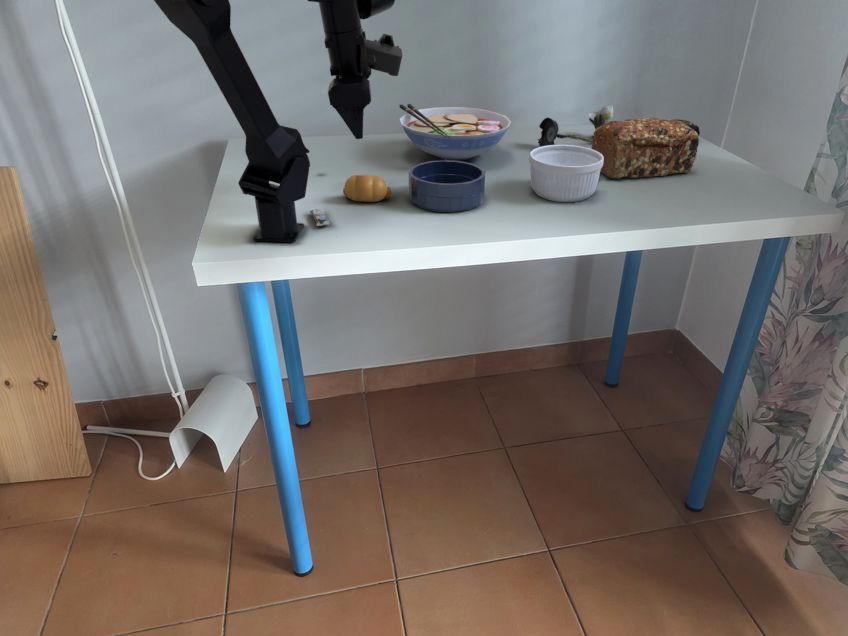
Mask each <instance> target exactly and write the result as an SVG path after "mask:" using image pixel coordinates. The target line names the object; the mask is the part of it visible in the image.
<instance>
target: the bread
mask: <svg viewBox="0 0 848 636" xmlns="http://www.w3.org/2000/svg"><path fill="white" fill-rule="evenodd" d="M591 141H592V143H591V148H590V149H593V150H595V151H597V152H599V153H601V154H602V155H603V157H604V162H603V166H602V168H601V171H600V173H602V174H603V175H605V176H606V177H608V178H609V179H616V180H617V179H618V180H620V179H621V178H623V177H625V178H626V177H627V178H632V179H633V178H634V179H637V178H650V177H665V176H667V175H673V174H678V173H679V174H687V173H689V172H690V171H691V170H692V169H693V166H694V163H695V161H696V160H697V153H698V148H699V143H700V138H699V136H698V134H697V132H696V131H694V129H692V128H690V127H689V126H688V125H686V124H684V123H683V122H681V121H678V120H673V119H668V118H658V117H657V118H656V117H642V118H639V117H638V118H634V119H631V118H630V119H629V118H628V119H625V120H610V121H608V122H606V123H605V124H603V125H602V126H600V127H598V128H597V129H596V130H594V131H593V138H592V140H591Z"/></svg>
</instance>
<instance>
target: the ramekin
mask: <svg viewBox="0 0 848 636" xmlns="http://www.w3.org/2000/svg"><path fill="white" fill-rule="evenodd" d="M528 162H529V164H530V182H531V183H530V184H531V188H532V190H533V192H534V193H535V194H536V195H537V196H539V197H540V198H541V199H545V200H549V201H552V202H557V203H559V202H560V203H575V202H581V201H584V200H587V199H589V198H591V196H592V195H593V194H594V193H595V191H596V190H597V186H598V184H599V183H598V182H599V179H600V174H601V172H600V171H601V168H602V166H603V162H604V157H603V155H602V154H601V153H599V152H597V151H595V150H593V149H592V148H590V147H585V146H581V145H573V144H555V145H548V146H542V147H540V146H539V147H535V148H534V149H532V150H531V151H530V153H529V157H528Z"/></svg>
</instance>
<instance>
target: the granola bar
mask: <svg viewBox="0 0 848 636" xmlns="http://www.w3.org/2000/svg"><path fill="white" fill-rule="evenodd" d="M309 213H311V215H312V217H313V218H314V220H315V223H316V226H318V227H326V226H329V225H330V224H331V222H330V221H329V218H328V217H327V216H326V213H325V212H324V209H323V208H315V209H311V210H309Z"/></svg>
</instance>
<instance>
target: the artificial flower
mask: <svg viewBox="0 0 848 636" xmlns="http://www.w3.org/2000/svg"><path fill="white" fill-rule="evenodd" d="M587 115H588V117H589V118H588V120H589V122H590V123H591V124H592V125H593V127H594V129H595V130H596V129H597V128H598V127H600V126H602V125H603V124H605V123H608V122H610V121H612V119H613V117H614V107H613V104H609V105H607V106H604V107H602V108H601V109H598V110H597V111H592V112H591V113H587ZM538 127H539V129H541V133H540V135H541V136H540V138H537V141H538V142H537V144H538V146H539V147H542V146H548V145H556V144H555V140H556V139H557V138H558V139H566V138H571V139H578V140H581V141H583V142H586V143H591V144H592V140H591V139H587V138H584V137H581V136H578V135H575V134H573V135H570V134H568V135H567V134H561V133H559V124H558V123H557V121H556V120H554V119H553V118H551V117H545V118H544V119H543V120H542V121H541V122H540V124H539V125H538ZM595 130H594V131H595Z"/></svg>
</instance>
